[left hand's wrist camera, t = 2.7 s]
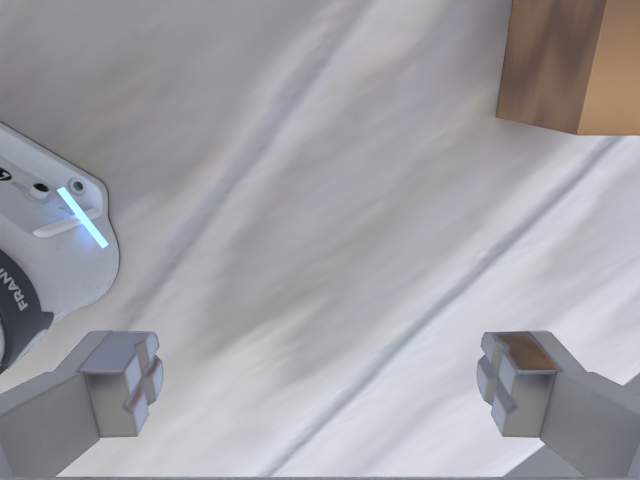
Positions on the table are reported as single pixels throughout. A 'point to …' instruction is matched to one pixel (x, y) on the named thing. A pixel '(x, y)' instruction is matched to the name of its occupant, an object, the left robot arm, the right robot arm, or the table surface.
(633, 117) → the box
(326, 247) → the table surface
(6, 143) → the left robot arm
